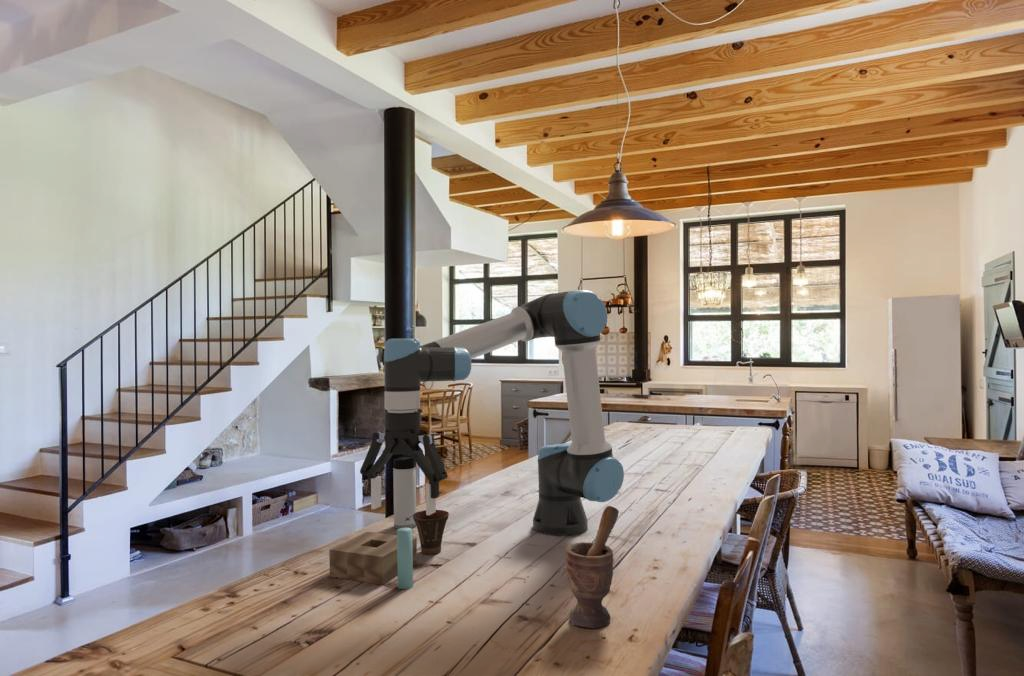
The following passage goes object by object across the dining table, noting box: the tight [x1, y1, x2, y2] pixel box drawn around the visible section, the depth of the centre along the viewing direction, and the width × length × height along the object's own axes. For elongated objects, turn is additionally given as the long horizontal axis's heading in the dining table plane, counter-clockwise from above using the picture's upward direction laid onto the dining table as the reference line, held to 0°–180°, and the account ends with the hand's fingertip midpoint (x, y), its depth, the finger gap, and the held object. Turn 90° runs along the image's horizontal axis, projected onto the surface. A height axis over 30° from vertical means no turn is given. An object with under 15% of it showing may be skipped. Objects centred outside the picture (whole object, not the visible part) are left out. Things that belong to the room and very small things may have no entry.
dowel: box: [396, 528, 414, 590], centre depth 133 cm, size 3×3×12 cm
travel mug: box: [392, 455, 417, 529], centre depth 177 cm, size 6×7×20 cm
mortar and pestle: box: [565, 505, 619, 629], centre depth 117 cm, size 12×9×20 cm
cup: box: [413, 509, 450, 555], centre depth 156 cm, size 9×9×10 cm
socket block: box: [328, 531, 418, 586], centre depth 143 cm, size 14×14×6 cm
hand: (403, 510), depth 133 cm, fingers open, 13 cm apart
